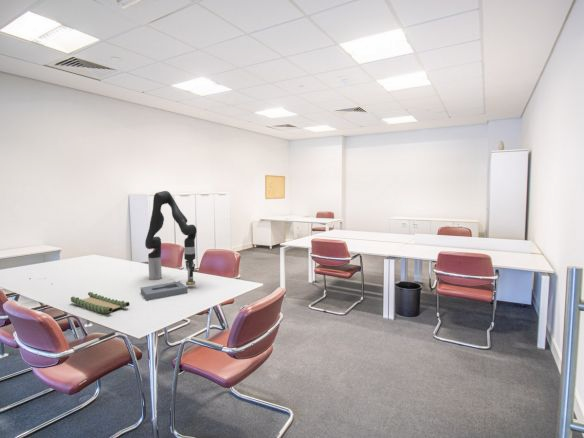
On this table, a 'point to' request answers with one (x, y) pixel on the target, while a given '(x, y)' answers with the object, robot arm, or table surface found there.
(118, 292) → the table surface
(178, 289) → the keyhole plate
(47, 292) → the table surface
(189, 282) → the steel peg
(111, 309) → the stretcher
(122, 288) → the table surface
